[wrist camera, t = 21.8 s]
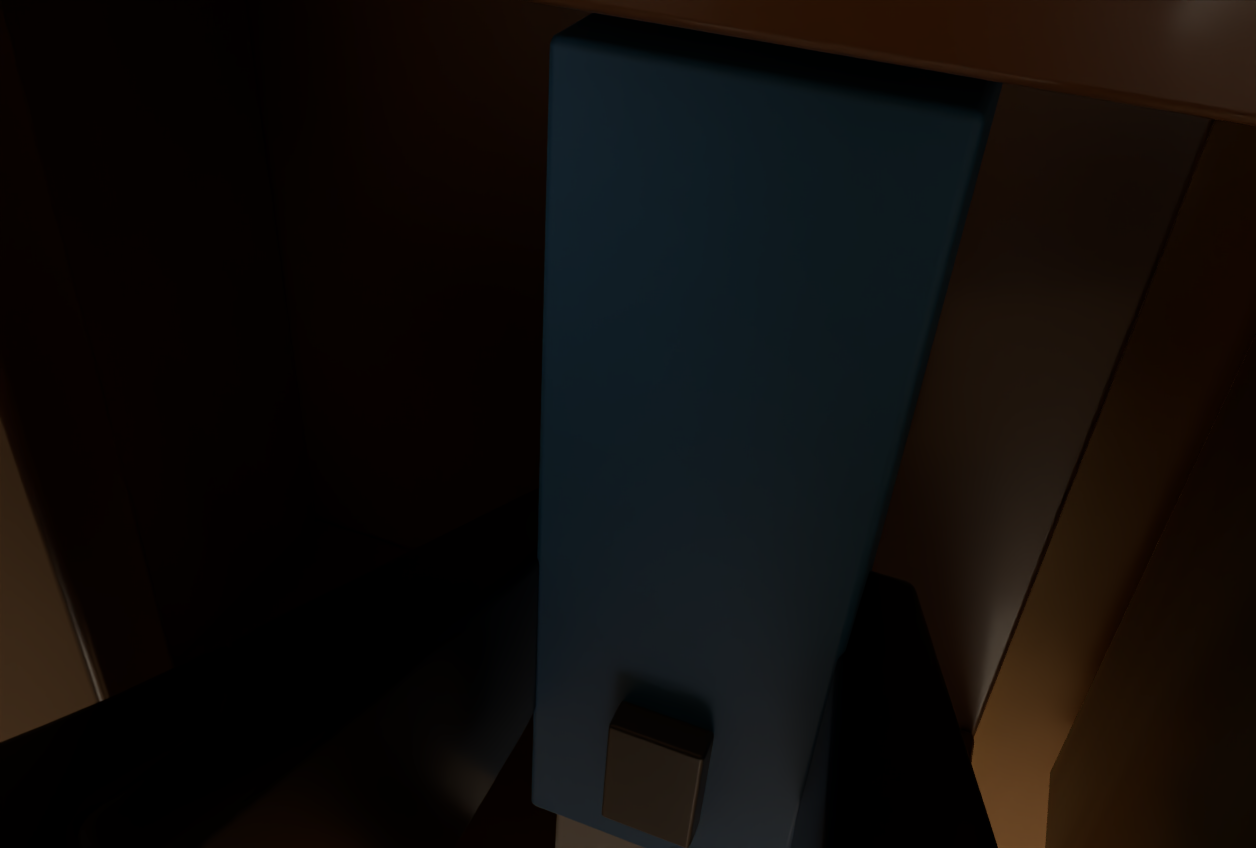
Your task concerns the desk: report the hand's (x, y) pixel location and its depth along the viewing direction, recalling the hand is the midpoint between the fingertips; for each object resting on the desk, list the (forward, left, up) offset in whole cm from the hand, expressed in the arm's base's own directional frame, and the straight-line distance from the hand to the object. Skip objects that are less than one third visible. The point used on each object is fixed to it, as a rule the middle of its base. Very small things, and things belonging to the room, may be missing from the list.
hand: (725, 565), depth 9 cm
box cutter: (0, 0, -1) cm, 1 cm away
